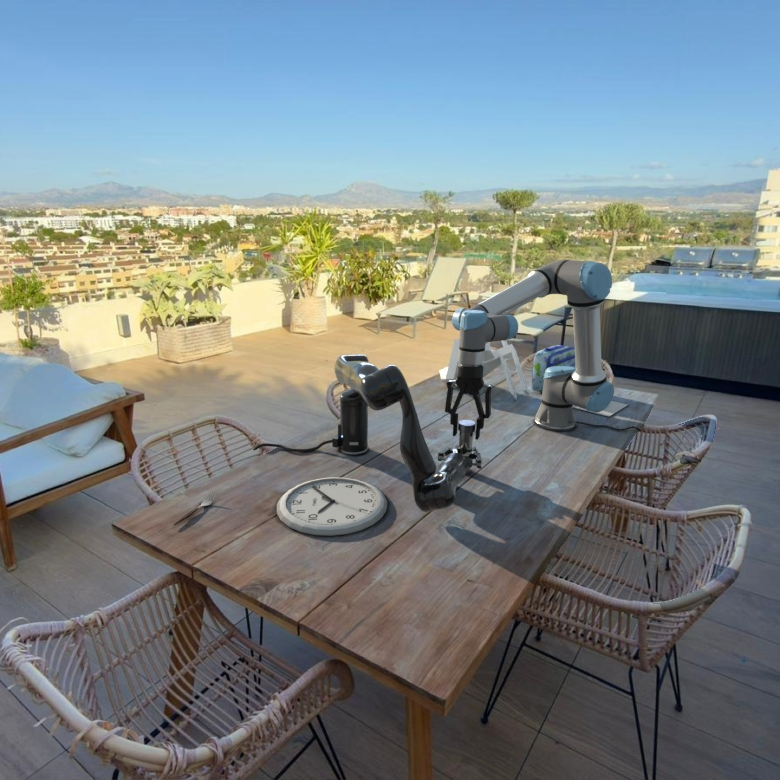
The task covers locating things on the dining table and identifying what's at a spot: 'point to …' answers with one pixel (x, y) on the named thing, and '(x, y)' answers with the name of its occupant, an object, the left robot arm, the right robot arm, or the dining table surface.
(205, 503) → the fork
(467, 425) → the lid
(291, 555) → the dining table surface
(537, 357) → the lunch box
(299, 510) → the wall clock
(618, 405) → the invitation card
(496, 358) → the white plastic object
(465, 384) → the right robot arm
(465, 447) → the silver metal cylinder
